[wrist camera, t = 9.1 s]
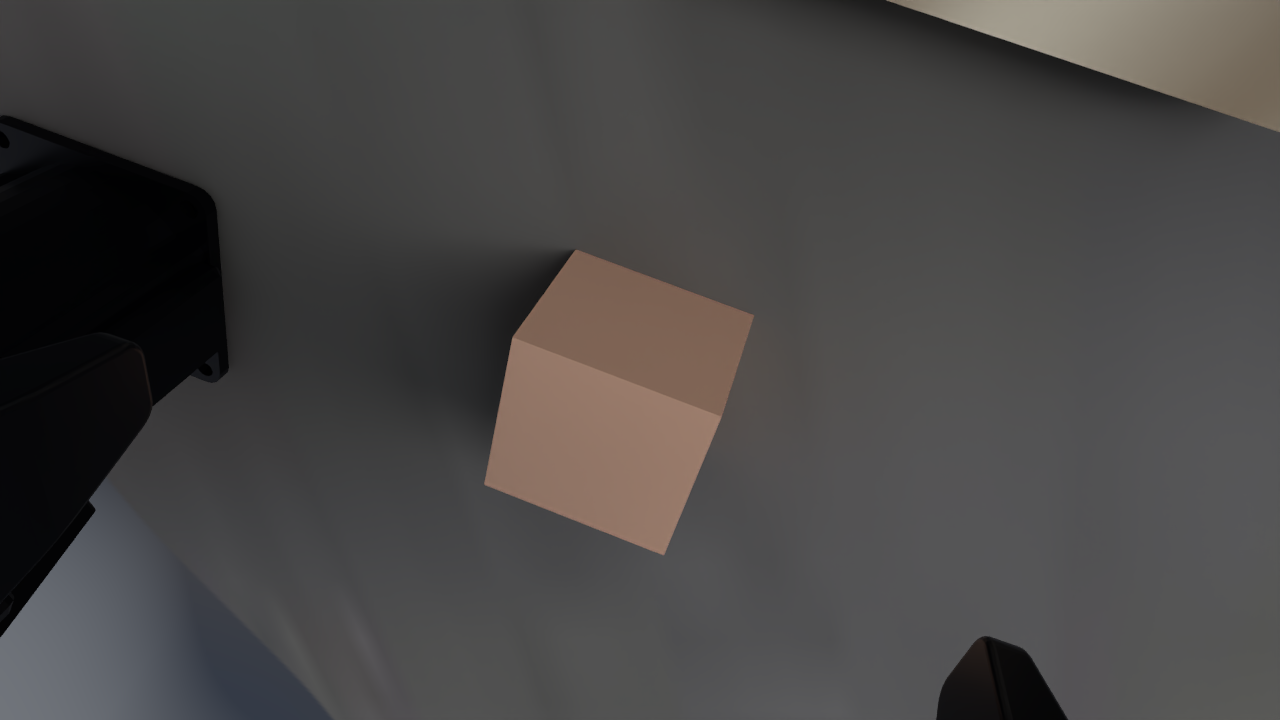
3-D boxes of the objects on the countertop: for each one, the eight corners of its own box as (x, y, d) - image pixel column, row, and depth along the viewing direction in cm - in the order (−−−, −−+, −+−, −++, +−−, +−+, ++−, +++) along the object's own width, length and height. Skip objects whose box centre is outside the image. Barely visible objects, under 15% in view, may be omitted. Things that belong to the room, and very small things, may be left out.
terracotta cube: (544, 385, 23) (484, 484, 20) (577, 247, 20) (512, 337, 17) (700, 445, 23) (663, 555, 20) (754, 313, 20) (721, 416, 17)
